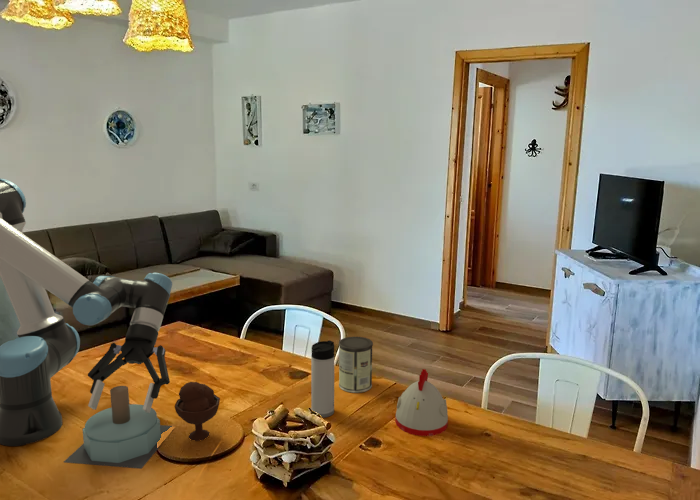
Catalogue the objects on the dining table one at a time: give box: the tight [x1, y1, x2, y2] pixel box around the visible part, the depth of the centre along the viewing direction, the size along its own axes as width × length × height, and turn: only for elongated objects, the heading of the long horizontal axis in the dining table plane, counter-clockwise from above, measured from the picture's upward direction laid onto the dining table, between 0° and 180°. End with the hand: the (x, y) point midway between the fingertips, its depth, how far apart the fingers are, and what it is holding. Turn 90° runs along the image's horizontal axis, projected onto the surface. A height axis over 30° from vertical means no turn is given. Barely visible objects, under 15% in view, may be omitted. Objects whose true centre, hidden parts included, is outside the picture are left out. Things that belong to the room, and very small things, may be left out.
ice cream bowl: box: [174, 381, 221, 442], centre depth 139 cm, size 11×11×15 cm
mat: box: [63, 424, 173, 469], centre depth 136 cm, size 19×19×1 cm
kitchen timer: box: [395, 368, 449, 437], centre depth 148 cm, size 14×14×15 cm
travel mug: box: [310, 340, 335, 418], centre depth 152 cm, size 6×7×20 cm
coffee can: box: [338, 336, 374, 394], centre depth 169 cm, size 10×10×14 cm
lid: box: [82, 385, 161, 463], centre depth 135 cm, size 16×16×14 cm
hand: (118, 409), depth 133 cm, fingers open, 13 cm apart
